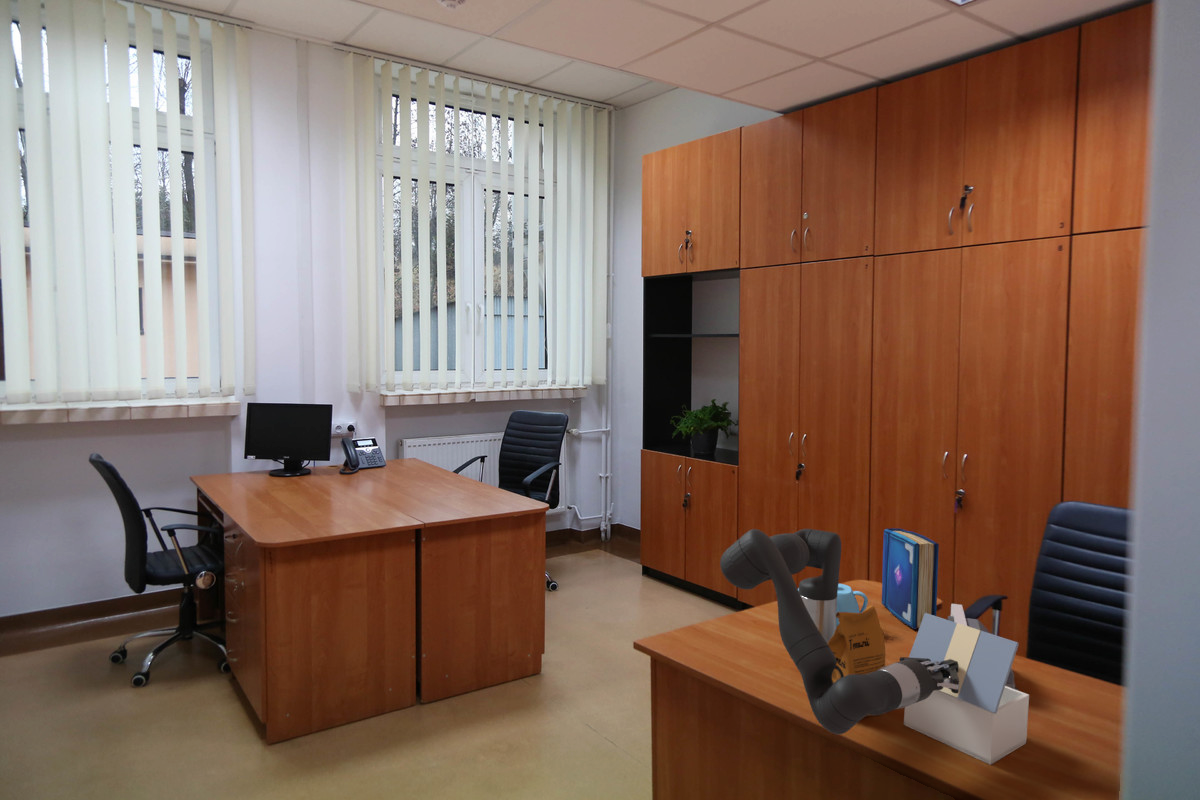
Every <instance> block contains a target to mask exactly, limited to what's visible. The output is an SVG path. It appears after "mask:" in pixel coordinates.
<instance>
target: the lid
mask: <svg viewBox="0 0 1200 800" xmlns="http://www.w3.org/2000/svg"><path fill="white" fill-rule="evenodd" d="M990 633H991V632H990ZM990 633H987V632H984V631H981V630H978V629H975V628H971V627H968V626H965V625H962V624H959V623H956V622H952V621H949V620H947V619H946V618H942V617H941V616H940V617H939V616H937V615H936V616H934V615H931V614H928V613H925V614H924V617H923V620H922V622H921V625H920V628H918V631H917V634H916V637H915V640H914V643H913V645H912V647H911V650H910V653H909V656H908V657H909V658H926V659H930V660H931V662H934V661H939V662H942V661H944V660H949V659H952V660H954V661H957V662H958V664H959V667H958V672H957V675H958V678H959V692H958V693H953V692H951V689H948V688H946V687H943V689H942V690H938V691H941V692H943V693H946V694H948V695H951V696H953V697H956V698H958V699H961V700H963V701H965V702H968V703H970V704H973V705H975V706H978V707H980V708H983V709H985V710H988V711H990V712H993V713H995V714H996V713H997V710H998V706H999V703H1000V700H1001V697H1002V694H1003V691H1004V688H1005V685H1006V682H1007V679H1008V676H1009V673H1010V670H1011V668H1012V666H1013V663H1014V660H1015V657H1016V653H1017V651H1018V647H1019V644H1020V643H1019V642H1018V641H1014V640H1011V639H1008V638H1005V637H1001V636H999V635H995V634H993V633H991V634H990ZM946 680H947V679H946ZM946 680H944V681H946Z"/></svg>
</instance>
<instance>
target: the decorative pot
mask: <svg viewBox="0 0 1200 800" xmlns="http://www.w3.org/2000/svg"><path fill="white" fill-rule="evenodd" d="M797 589H798V591H799V587H797ZM856 596H859V597H862V598H863V604H862V606H861V609H860V608H859V607H860V606H859V603H858V601H857V597H856ZM868 599H869V598H868V596H867V595H866V594H865V593H864V592H862V591H860V590H853V589H852V587H851V586H849V585H847V584H843V583H838V592H837V612H849V613H862V612H863V611H864V610H865V609H866V608H867V607H868V603H869V600H868ZM838 625H839V618H837V617H836V628H837V626H838Z"/></svg>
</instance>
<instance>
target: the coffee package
mask: <svg viewBox="0 0 1200 800" xmlns="http://www.w3.org/2000/svg"><path fill="white" fill-rule="evenodd" d="M836 617H837V618H839V625H838V626H837V628H836V630H835V633H834V635H833V636H832V638H831V639H830V640H829V642H828V645H829V647H830V649H831V650H832V652H833V653H834V655H835V657H836V661H837V663H836V666H835V668H834V670H833V673H832V681H833V683H834V682H835V681H837V680H838V679H840V678H842V677H844V676H847V675H851V674H863V675H865V674H868V673H871V672H874V671H877V670H879V669H880V668H882V667H885V666H886V642H885V636H884V633H883V628H882V626H881V624H880V620H879V617H878V613H877V609H876V607H875V605H869V606H868V605H867V607H866V609H865V610H864V611H863V612H862V613H849V612H837V614H836ZM871 716H872V715H869V714H868V715H866V716H865V717H871Z"/></svg>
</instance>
